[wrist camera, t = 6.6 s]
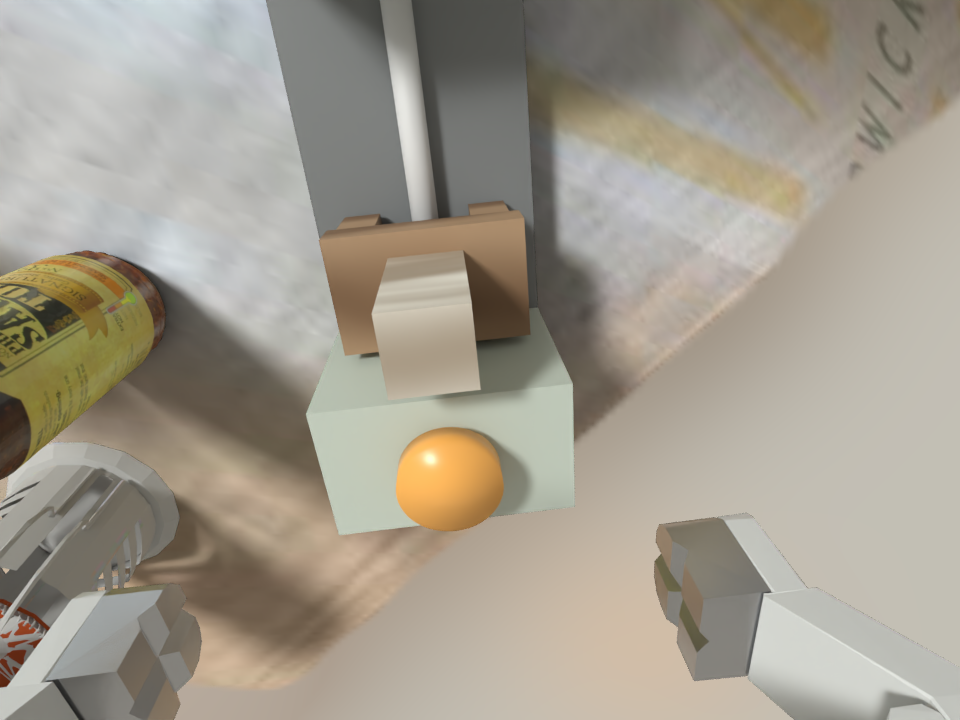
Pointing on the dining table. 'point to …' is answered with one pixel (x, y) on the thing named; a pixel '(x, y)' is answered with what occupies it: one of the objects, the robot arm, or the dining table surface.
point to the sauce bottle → (68, 343)
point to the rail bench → (414, 197)
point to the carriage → (428, 293)
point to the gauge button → (449, 479)
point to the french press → (73, 536)
